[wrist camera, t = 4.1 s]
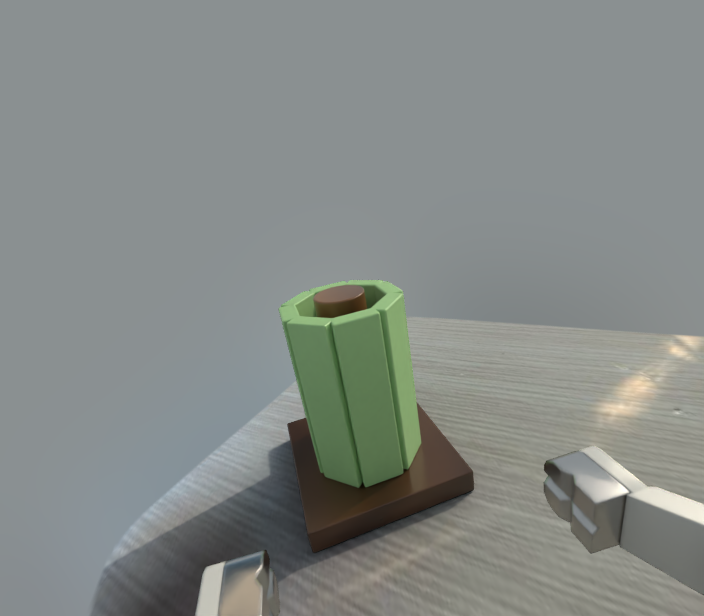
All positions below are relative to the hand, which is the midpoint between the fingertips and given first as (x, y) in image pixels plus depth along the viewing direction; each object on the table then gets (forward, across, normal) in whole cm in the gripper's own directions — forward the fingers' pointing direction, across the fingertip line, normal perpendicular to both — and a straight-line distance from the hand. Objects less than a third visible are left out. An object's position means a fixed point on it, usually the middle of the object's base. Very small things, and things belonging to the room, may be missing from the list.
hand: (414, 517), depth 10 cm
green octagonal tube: (+9, 0, +5) cm, 10 cm away
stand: (+9, 0, +6) cm, 11 cm away
